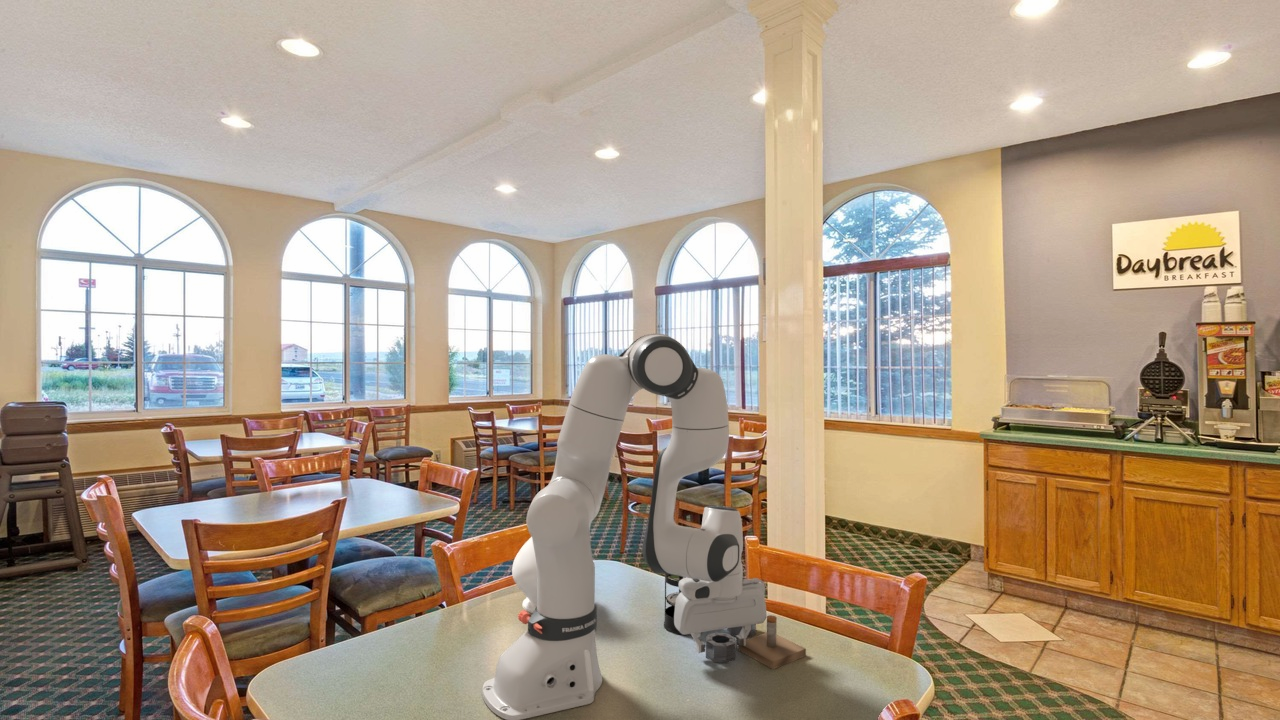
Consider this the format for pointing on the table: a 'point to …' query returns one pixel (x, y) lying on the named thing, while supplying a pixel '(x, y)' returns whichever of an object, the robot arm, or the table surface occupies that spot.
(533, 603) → the decorative vase
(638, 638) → the table surface
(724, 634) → the grey octagonal nut
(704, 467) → the robot arm
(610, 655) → the table surface
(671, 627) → the french press
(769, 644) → the keeper
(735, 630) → the grey octagonal ring
